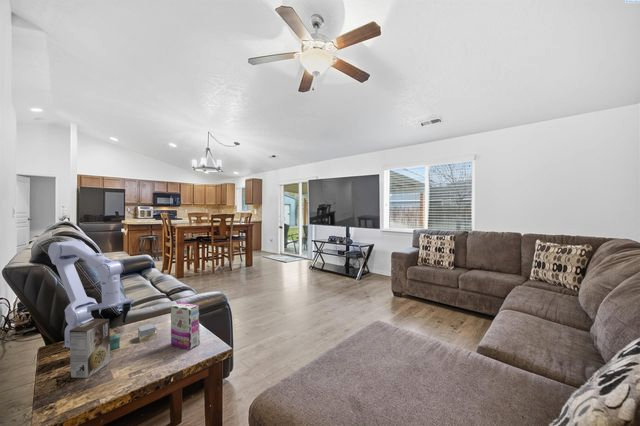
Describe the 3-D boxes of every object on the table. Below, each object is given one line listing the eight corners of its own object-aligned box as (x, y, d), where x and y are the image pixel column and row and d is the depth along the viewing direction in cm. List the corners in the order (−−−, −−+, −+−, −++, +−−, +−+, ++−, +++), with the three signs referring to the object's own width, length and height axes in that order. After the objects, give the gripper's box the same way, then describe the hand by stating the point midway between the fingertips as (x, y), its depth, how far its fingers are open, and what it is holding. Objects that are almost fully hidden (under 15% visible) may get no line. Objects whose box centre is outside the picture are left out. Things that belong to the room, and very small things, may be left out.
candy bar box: (200, 344, 106) (199, 305, 106) (190, 350, 102) (189, 309, 101) (181, 339, 110) (180, 301, 110) (170, 344, 106) (169, 305, 106)
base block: (140, 343, 108) (140, 337, 108) (138, 338, 112) (138, 332, 112) (156, 338, 112) (156, 332, 112) (154, 333, 116) (154, 328, 116)
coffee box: (94, 361, 95) (93, 318, 94) (111, 361, 94) (110, 318, 94) (69, 377, 86) (68, 330, 85) (88, 378, 85) (87, 330, 85)
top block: (140, 337, 108) (140, 331, 108) (138, 332, 112) (138, 326, 112) (155, 332, 112) (155, 327, 112) (153, 328, 116) (153, 323, 116)
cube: (105, 352, 100) (104, 341, 100) (104, 348, 104) (104, 337, 104) (119, 348, 103) (119, 337, 103) (118, 344, 107) (118, 333, 107)
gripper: (86, 298, 95) (87, 334, 96) (134, 290, 105) (135, 322, 105) (86, 293, 101) (87, 328, 101) (132, 286, 110) (132, 317, 111)
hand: (111, 325), depth 103 cm, fingers open, 7 cm apart
